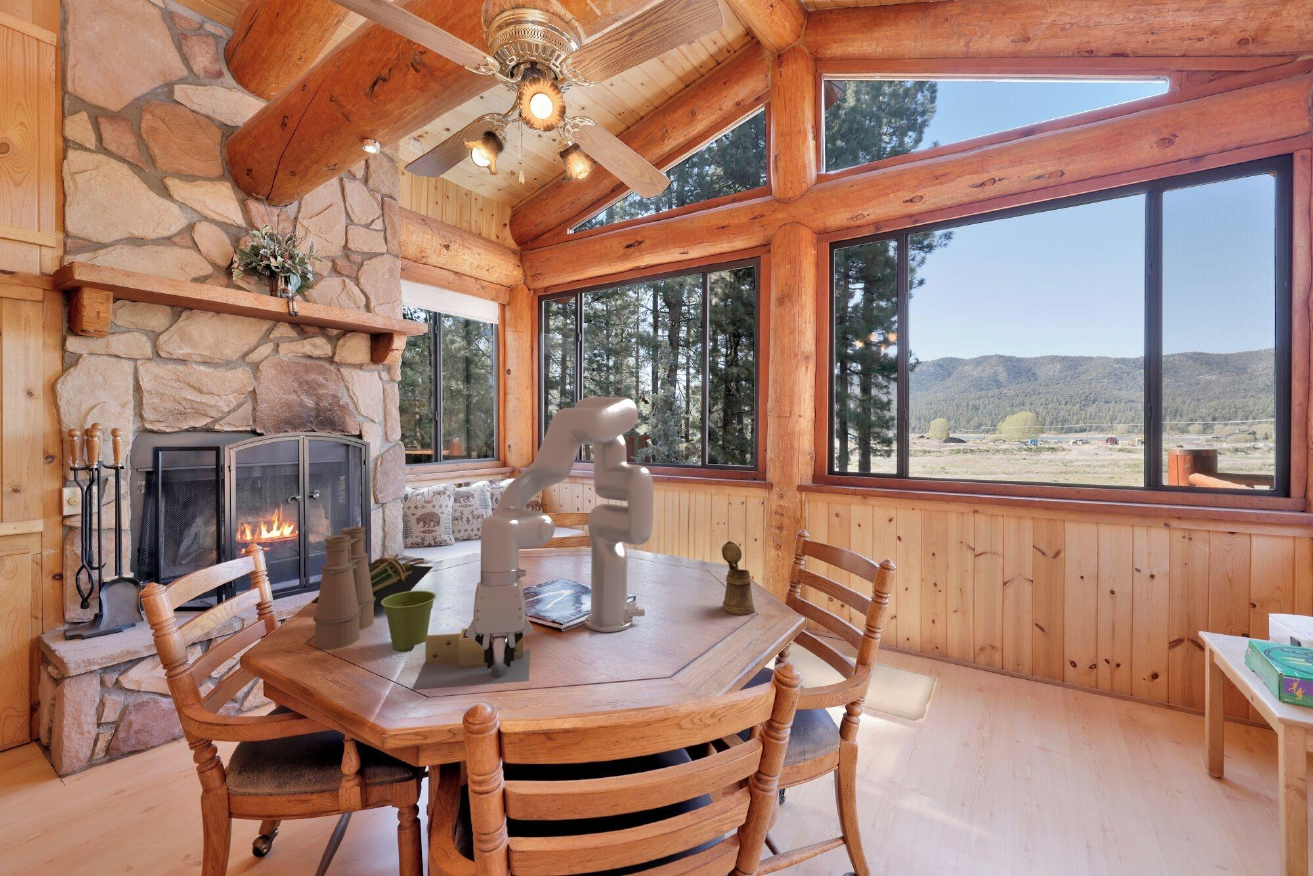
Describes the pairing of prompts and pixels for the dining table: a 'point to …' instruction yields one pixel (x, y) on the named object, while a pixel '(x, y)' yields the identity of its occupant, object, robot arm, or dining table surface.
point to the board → (469, 674)
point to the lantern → (393, 577)
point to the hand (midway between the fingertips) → (499, 664)
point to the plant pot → (408, 617)
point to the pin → (499, 655)
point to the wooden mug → (737, 583)
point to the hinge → (459, 650)
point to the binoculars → (344, 591)
